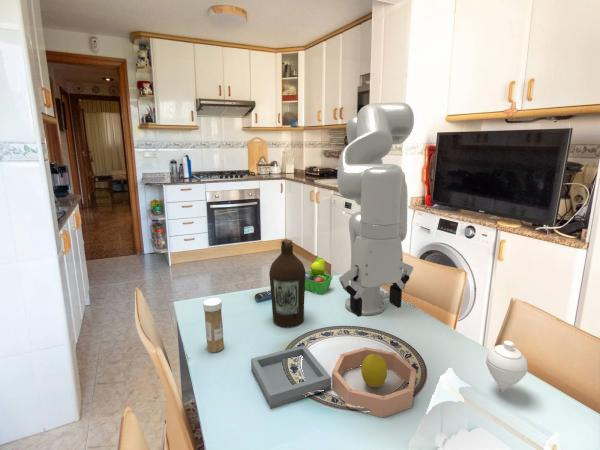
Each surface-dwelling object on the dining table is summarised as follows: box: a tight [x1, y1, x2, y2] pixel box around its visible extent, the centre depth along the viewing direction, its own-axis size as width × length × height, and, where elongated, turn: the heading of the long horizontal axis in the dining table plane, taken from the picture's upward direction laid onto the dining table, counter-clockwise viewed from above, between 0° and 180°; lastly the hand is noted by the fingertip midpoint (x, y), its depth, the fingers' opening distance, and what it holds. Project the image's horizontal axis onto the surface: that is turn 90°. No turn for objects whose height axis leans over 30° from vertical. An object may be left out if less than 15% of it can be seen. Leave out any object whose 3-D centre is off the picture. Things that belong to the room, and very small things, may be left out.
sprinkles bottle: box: [202, 297, 225, 353], centre depth 95 cm, size 5×5×13 cm
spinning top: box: [485, 340, 529, 394], centre depth 77 cm, size 8×8×12 cm
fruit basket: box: [305, 257, 333, 295], centre depth 132 cm, size 11×9×11 cm
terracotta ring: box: [331, 346, 417, 418], centre depth 80 cm, size 17×17×4 cm
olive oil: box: [268, 239, 306, 329], centre depth 108 cm, size 11×11×25 cm
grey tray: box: [250, 344, 332, 409], centre depth 83 cm, size 14×14×3 cm
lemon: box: [360, 354, 388, 388], centre depth 80 cm, size 6×6×8 cm
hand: (376, 309), depth 76 cm, fingers open, 9 cm apart
